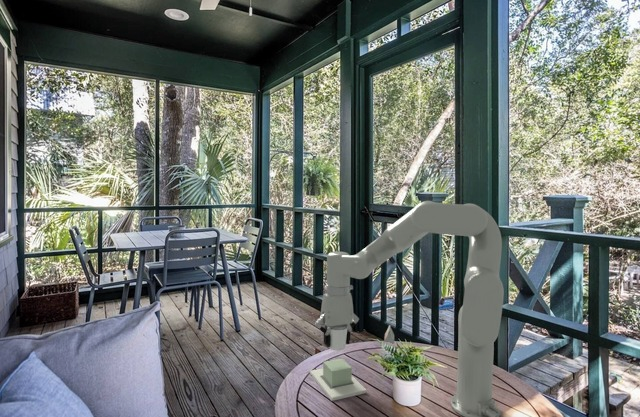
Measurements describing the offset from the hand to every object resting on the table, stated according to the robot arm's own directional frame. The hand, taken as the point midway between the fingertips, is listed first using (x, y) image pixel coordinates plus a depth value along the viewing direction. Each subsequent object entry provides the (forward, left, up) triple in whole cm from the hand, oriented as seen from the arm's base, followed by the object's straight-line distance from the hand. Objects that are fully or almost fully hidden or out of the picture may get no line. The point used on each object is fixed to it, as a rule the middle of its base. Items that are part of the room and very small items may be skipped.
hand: (336, 343), depth 122 cm
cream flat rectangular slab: (0, 0, -13) cm, 13 cm away
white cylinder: (0, 0, -1) cm, 1 cm away
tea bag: (+13, -29, -13) cm, 35 cm away
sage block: (0, 0, -12) cm, 12 cm away
